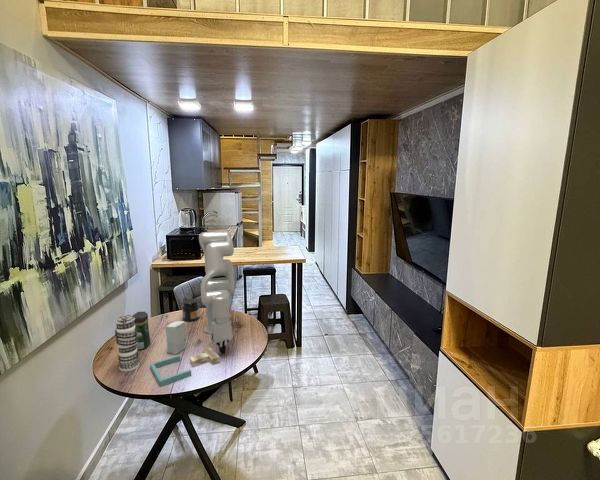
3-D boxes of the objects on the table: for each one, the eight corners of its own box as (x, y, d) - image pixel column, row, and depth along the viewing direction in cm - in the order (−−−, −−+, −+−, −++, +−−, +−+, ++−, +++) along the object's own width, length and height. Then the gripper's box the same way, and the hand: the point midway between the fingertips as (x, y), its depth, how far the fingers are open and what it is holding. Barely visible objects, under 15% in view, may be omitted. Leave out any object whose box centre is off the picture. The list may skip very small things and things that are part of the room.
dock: (179, 359, 160) (179, 354, 159) (191, 375, 146) (191, 370, 146) (150, 368, 152) (149, 363, 151) (160, 386, 138) (159, 381, 138)
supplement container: (202, 318, 209) (201, 301, 207) (187, 323, 202) (185, 305, 200) (195, 314, 217) (194, 297, 215) (180, 318, 209) (179, 301, 207)
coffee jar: (136, 342, 177) (134, 310, 174) (151, 341, 178) (149, 309, 175) (130, 351, 168) (127, 317, 165) (146, 350, 169) (143, 316, 166)
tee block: (210, 352, 167) (210, 347, 166) (219, 362, 157) (219, 356, 157) (187, 360, 160) (186, 354, 159) (195, 370, 150) (195, 364, 150)
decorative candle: (119, 363, 156) (115, 314, 152) (141, 359, 159) (136, 312, 155) (116, 373, 148) (111, 322, 144) (139, 369, 151) (134, 319, 147)
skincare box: (176, 354, 164) (174, 327, 162) (166, 353, 166) (164, 326, 164) (186, 347, 172) (185, 321, 170) (177, 345, 174) (175, 319, 171)
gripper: (231, 313, 169) (232, 345, 172) (204, 320, 160) (205, 354, 163) (238, 317, 163) (239, 351, 166) (210, 325, 154) (211, 360, 157)
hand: (222, 352), depth 164 cm, fingers closed
